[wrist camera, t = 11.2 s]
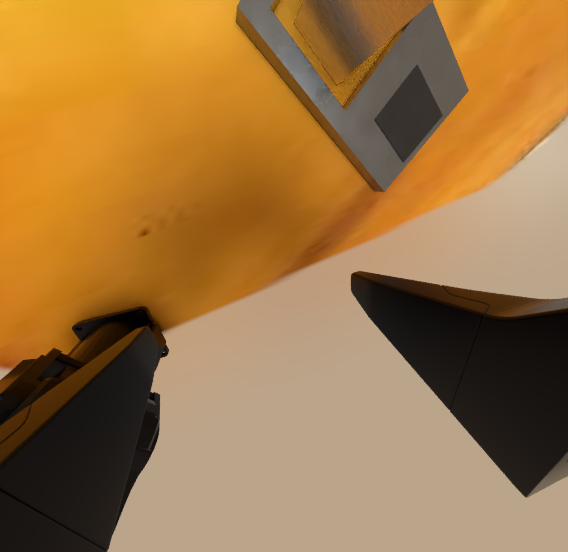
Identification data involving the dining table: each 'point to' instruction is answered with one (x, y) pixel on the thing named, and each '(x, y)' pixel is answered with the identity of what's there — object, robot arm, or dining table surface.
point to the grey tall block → (352, 29)
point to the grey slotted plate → (371, 90)
